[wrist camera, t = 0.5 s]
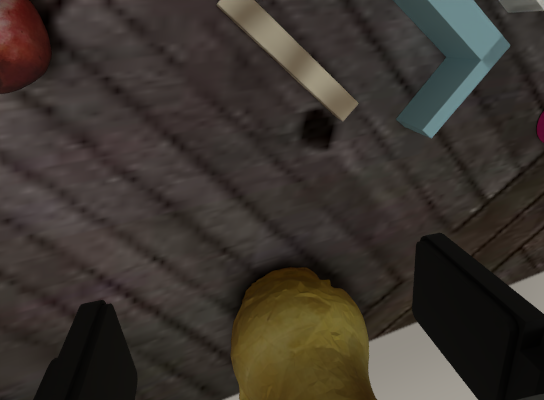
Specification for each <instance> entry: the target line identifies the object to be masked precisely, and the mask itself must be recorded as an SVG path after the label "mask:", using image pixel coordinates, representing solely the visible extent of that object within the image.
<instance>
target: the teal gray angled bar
mask: <svg viewBox="0 0 544 400" xmlns="http://www.w3.org/2000/svg"><path fill="white" fill-rule="evenodd" d="M393 1H394V2H395V3H396V4H397V5H398V6H399V7H400V8H401V9H402V10H403V11H404V12H405V14H406V15H407V16H408V17H409V18H410V19H411V20H412V21H413V22H414V23H415V24H416V25H417V26H418V27H419V28H420V29H421V31H422V32H423V33H424V34H425V35H426V36H427V37H428V38H429V39H430V40H431V41H432V42H433V43H434V44H435V45H436V47H437V48H438V49H439V50H440V51H441V52H442V53H443V54H444V55H445V56H446V59H445V60H444V61H443V62H442V63H441V65H440V66H439V67H438V68H437V70H436V71H435V72H434V73H433V74H432V76H431V77H430V78H429V79H428V81H427V82H426V83H425V84H424V85H423V87H422V88H421V89H420V90H419V92H418V93H417V94H416V95H415V96H414V98H413V99H412V100H411V101H410V103H409V104H408V105H407V106H406V108H405V109H404V110H403V111H402V112H401V114H400V115H399V116H398V117H397V119H396V120H397V121H398V122H400V123H401V124H402V125H403V126H404V127H406V128H409V129H411V130H413V131H415V132H418V133H420V134H422V135H425V136H427V137H429V138H432V137H433V136H434V135H435V134H436V132H437V131H438V130H439V129H440V128H441V127H442V125H443V124H444V123H445V122H446V121H447V120H448V118H449V117H450V116H451V115H452V114H453V113H454V111H455V110H456V109H457V108H458V107H459V105H460V104H461V103H462V102H463V101H464V100H465V98H466V97H467V96H468V95H469V94H470V93H471V91H472V90H473V89H474V88H475V87H476V86H477V84H478V83H479V82H480V81H481V80H482V79H483V77H484V76H485V75H486V74H487V73H488V71H489V70H490V69H491V68H492V67H493V66H494V64H495V63H496V62H497V61H498V60H499V59H500V57H501V56H502V55H503V54H504V53H505V52H506V50H507V49H508V48H509V47H510V46H511V45H510V44H509V43H508V42H507V40H506V39H505V38H504V37H503V36H502V34H501V33H500V32H499V31H498V30H497V28H496V27H495V26H494V25H493V23H492V22H491V21H490V20H489V19H488V17H487V16H486V15H485V14H484V13H483V11H482V10H481V9H480V8H479V6H478V5H477V4H476V3H475V2H474V0H393Z"/></svg>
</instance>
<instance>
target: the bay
mask: <svg viewBox="0 0 544 400" xmlns="http://www.w3.org/2000/svg"><path fill="white" fill-rule="evenodd" d="M498 1H499V2H500V3H501V5H502V6H503V7H504V8H505V10H506V11H507V12H508V13H515V12H529V11H543V10H544V0H498Z"/></svg>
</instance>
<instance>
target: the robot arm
mask: <svg viewBox="0 0 544 400" xmlns="http://www.w3.org/2000/svg"><path fill="white" fill-rule="evenodd" d="M412 311H413V315H414V317H415V319H416V320H417V322H418V323H419V324H420V326H421V327H422V328H423V329H424V331H425V332H426V333H427V335H428V336H429V337H430V338H431V340H432V341H433V342H434V344H435V345H436V346H437V347H438V349H439V350H440V351H441V353H442V354H443V355H444V356H445V358H446V359H447V360H448V361H449V363H450V364H451V365H452V366H453V368H454V369H455V371H456V372H457V373H458V374H459V376H460V377H461V378H462V379H463V381H464V382H465V383H466V385H467V386H468V387H469V388H470V390H471V391H472V392H473V394H474V395H475V396H476V398H477V399H478V400H544V314H543V313H542V312H541V311H539V310H538V309H537V308H536V307H534V306H533V305H532V304H531V303H529V302H528V301H527V300H525V299H524V298H523V297H522V296H521V295H519V294H518V293H517V292H516V291H514V290H513V289H512V288H511V287H509V286H508V285H507V284H505V283H504V282H503V281H502V280H500V279H499V278H498V277H497V276H495V275H494V274H493V273H492V272H490V271H489V270H488V269H487V268H485V267H484V266H483V265H482V264H480V263H479V262H478V261H477V260H475V259H474V258H473V257H472V256H470V255H469V254H468V253H467V252H465V251H464V250H463V249H462V248H460V247H459V246H458V245H456V244H455V243H454V242H453V241H451V240H450V239H449V238H448V237H446V236H445V235H444V234H442V233H436V234H431V235H426V236H423V237H422V238H421V240H420V242H417V244H416V255H415V271H414V287H413V303H412ZM136 388H137V371H136V368H135V365H134V362H133V360H132V357H131V354H130V351H129V349H128V346H127V343H126V340H125V337H124V335H123V332H122V329H121V326H120V324H119V321H118V318H117V315H116V312H115V310H114V307H113V305H112V304H106V302H105V301H104V300H100V301H94V302H89V303H84V304H82V305H81V306H80V307H79V309H78V312H77V314H76V316H75V319H74V321H73V323H72V326H71V328H70V330H69V333H68V335H67V337H66V340H65V342H64V344H63V347H62V349H61V351H60V354H59V356H58V358H55V359H53V360H52V361H51V363H50V364H49V366H48V368H47V370H46V372H45V375H44V377H43V379H42V381H41V384H40V386H39V388H38V390H37V393H36V395H35V397H34V399H33V400H135V394H136Z"/></svg>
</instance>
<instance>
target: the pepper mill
mask: <svg viewBox="0 0 544 400" xmlns="http://www.w3.org/2000/svg"><path fill="white" fill-rule="evenodd" d="M537 135H538V137H539V139H540V140H541V141H542V142H543V143H544V111H543V113H542V114H541V116H540V118H539V120H538V124H537Z"/></svg>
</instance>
